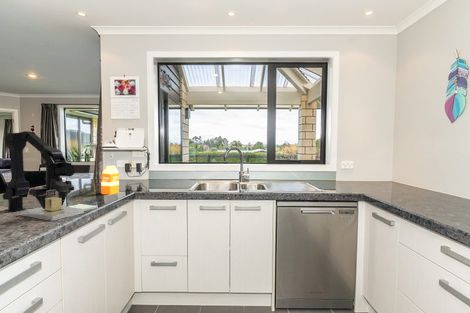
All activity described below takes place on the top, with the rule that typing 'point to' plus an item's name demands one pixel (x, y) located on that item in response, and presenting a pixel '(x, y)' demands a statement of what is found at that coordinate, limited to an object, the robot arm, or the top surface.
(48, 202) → the tan wooden block
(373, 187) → the top surface
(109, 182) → the orange juice
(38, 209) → the hole plate
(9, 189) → the robot arm
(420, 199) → the top surface
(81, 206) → the pad
